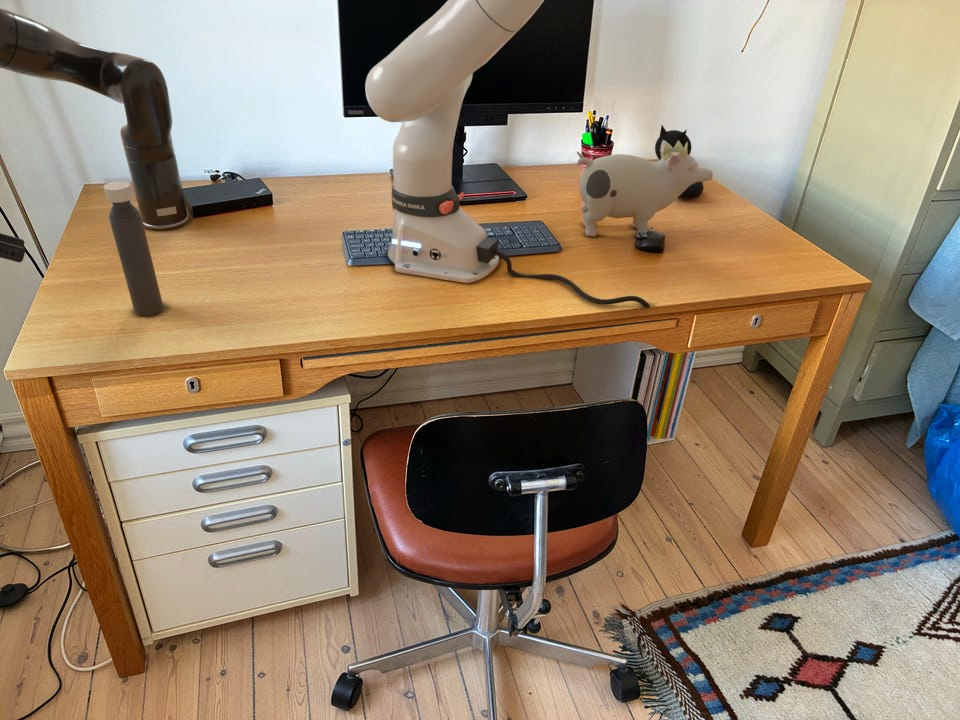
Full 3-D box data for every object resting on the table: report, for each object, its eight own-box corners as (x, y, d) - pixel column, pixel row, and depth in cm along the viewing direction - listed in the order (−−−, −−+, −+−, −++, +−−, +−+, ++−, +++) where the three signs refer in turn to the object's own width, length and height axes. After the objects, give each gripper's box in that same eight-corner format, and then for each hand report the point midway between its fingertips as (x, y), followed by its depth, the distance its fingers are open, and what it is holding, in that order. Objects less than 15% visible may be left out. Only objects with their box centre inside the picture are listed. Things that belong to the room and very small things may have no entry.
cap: (103, 197, 111) (99, 184, 110) (129, 191, 114) (126, 179, 112) (110, 204, 109) (107, 191, 108) (137, 199, 111) (133, 186, 110)
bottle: (130, 308, 123) (97, 186, 111) (158, 300, 125) (128, 180, 113) (139, 319, 120) (106, 195, 108) (167, 311, 122) (137, 189, 110)
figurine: (703, 243, 153) (724, 151, 141) (570, 238, 152) (580, 145, 141) (692, 224, 161) (711, 135, 150) (566, 219, 161) (576, 130, 150)
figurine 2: (633, 187, 180) (643, 126, 171) (662, 174, 188) (673, 116, 180) (689, 205, 171) (702, 142, 162) (717, 191, 179) (731, 131, 171)
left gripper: (-110, 193, 93) (32, 234, 103) (-97, 184, 105) (29, 222, 114) (-125, 247, 94) (17, 283, 104) (-111, 232, 106) (16, 266, 115)
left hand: (23, 251), depth 109 cm, fingers open, 8 cm apart
